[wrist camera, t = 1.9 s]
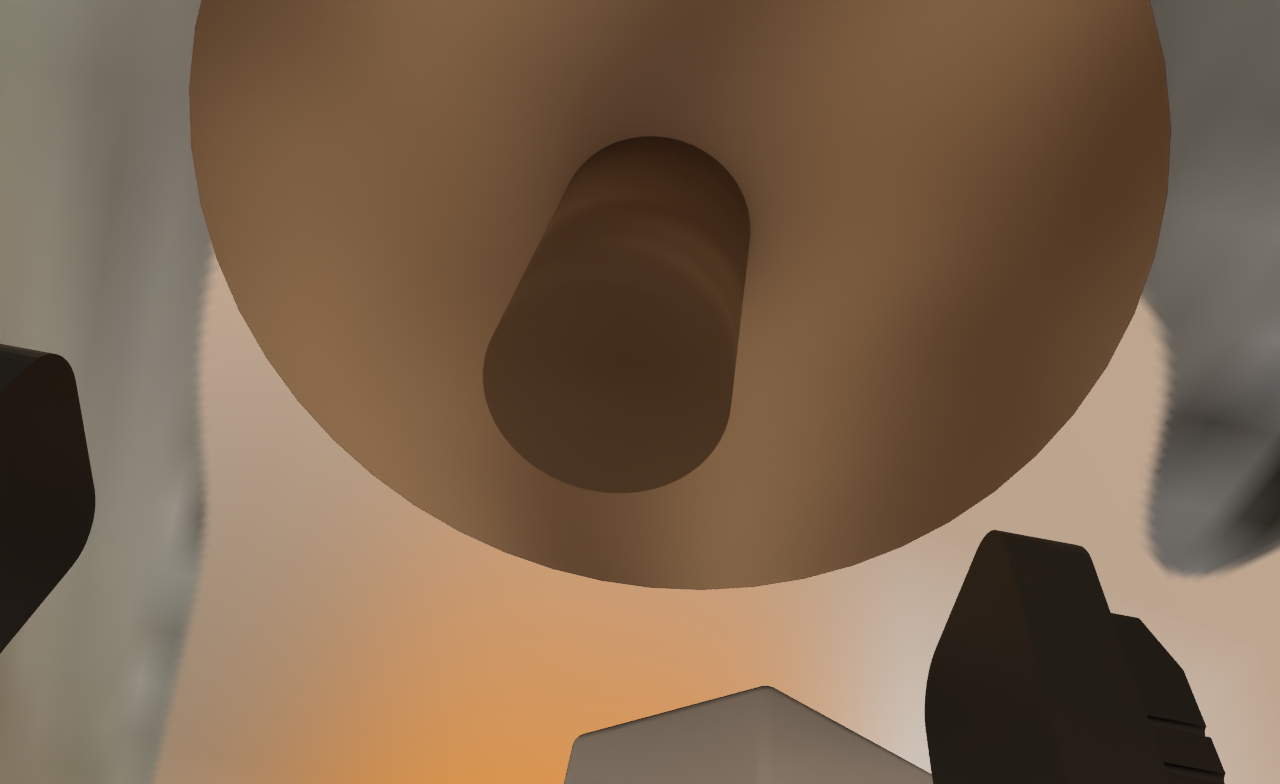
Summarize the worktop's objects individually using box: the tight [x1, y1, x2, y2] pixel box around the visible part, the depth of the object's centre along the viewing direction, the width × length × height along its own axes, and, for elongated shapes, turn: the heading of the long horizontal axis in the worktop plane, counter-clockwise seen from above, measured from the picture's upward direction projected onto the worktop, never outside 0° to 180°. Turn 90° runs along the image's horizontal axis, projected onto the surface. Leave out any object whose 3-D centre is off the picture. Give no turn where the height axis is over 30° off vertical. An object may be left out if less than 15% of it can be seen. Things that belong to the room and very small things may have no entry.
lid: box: [189, 0, 1171, 590], centre depth 14 cm, size 14×14×6 cm
